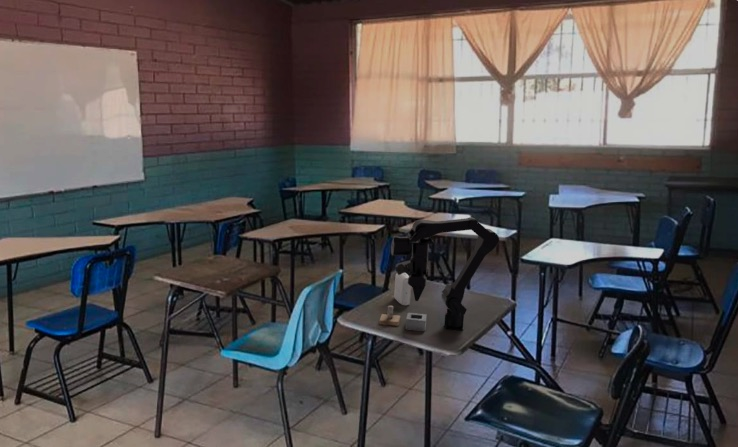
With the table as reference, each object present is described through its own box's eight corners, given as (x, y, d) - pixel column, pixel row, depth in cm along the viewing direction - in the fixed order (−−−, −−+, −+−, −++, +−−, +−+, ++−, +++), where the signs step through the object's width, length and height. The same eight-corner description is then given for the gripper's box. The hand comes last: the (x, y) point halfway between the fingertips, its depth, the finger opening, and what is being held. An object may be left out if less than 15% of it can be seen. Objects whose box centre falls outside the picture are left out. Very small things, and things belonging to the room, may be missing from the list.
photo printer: (411, 305, 254) (412, 275, 251) (401, 305, 252) (402, 276, 250) (402, 297, 263) (404, 269, 261) (392, 297, 262) (394, 269, 259)
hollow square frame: (426, 324, 232) (426, 314, 231) (424, 331, 225) (425, 320, 225) (407, 322, 233) (407, 312, 232) (405, 329, 226) (406, 319, 226)
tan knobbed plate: (400, 319, 237) (400, 304, 235) (398, 325, 230) (398, 310, 229) (381, 317, 238) (382, 302, 236) (379, 324, 231) (380, 308, 230)
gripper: (400, 247, 234) (398, 287, 237) (394, 260, 216) (392, 303, 219) (430, 249, 233) (427, 290, 236) (426, 262, 215) (424, 305, 218)
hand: (417, 296), depth 227 cm, fingers open, 9 cm apart
